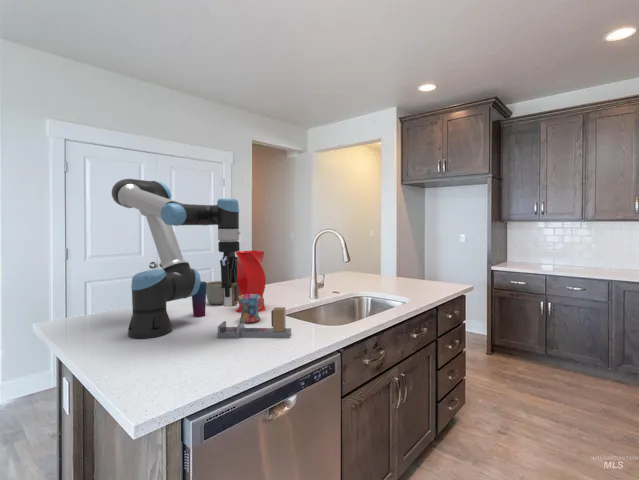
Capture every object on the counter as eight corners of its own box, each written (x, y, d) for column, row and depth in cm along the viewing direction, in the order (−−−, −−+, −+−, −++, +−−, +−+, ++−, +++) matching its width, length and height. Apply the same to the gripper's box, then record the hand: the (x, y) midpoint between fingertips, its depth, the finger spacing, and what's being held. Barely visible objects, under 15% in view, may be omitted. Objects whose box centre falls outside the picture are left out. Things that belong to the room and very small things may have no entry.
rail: (217, 338, 128) (216, 310, 127) (223, 331, 135) (223, 306, 134) (288, 338, 126) (288, 311, 126) (291, 332, 133) (291, 306, 133)
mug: (246, 325, 143) (246, 299, 143) (234, 321, 150) (233, 296, 149) (270, 319, 152) (270, 295, 151) (257, 315, 158) (257, 292, 158)
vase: (242, 315, 160) (241, 253, 158) (228, 309, 171) (227, 251, 170) (271, 309, 169) (270, 251, 168) (256, 304, 180) (255, 249, 179)
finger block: (223, 306, 129) (223, 284, 128) (227, 303, 133) (226, 282, 132) (236, 306, 128) (235, 284, 128) (239, 303, 132) (238, 282, 132)
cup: (188, 316, 157) (187, 283, 157) (198, 313, 164) (197, 281, 163) (200, 318, 155) (199, 284, 154) (210, 314, 161) (209, 281, 160)
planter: (204, 302, 186) (204, 282, 186) (228, 300, 191) (228, 280, 191) (207, 307, 175) (207, 285, 174) (232, 304, 180) (232, 283, 180)
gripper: (231, 242, 121) (233, 309, 122) (245, 239, 138) (246, 299, 139) (210, 242, 121) (212, 309, 122) (226, 240, 138) (227, 299, 139)
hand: (230, 304), depth 130 cm, fingers closed on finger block, 4 cm apart
